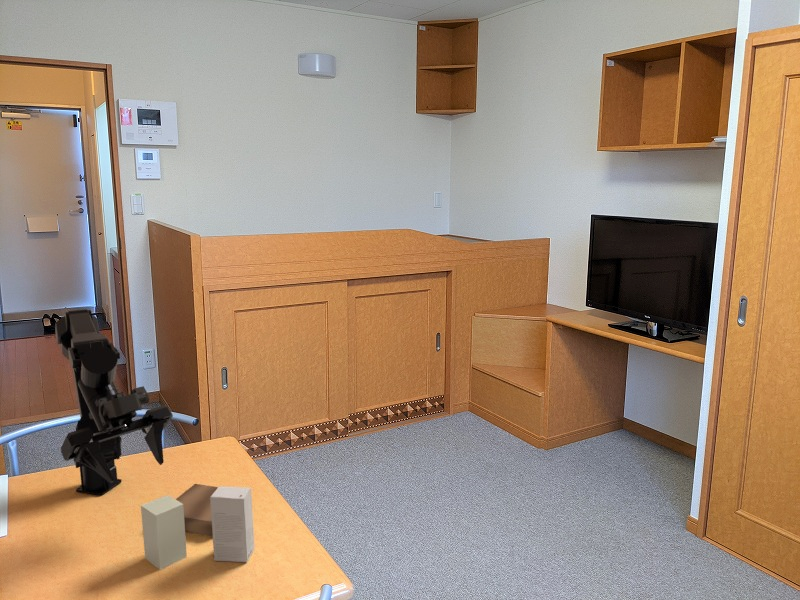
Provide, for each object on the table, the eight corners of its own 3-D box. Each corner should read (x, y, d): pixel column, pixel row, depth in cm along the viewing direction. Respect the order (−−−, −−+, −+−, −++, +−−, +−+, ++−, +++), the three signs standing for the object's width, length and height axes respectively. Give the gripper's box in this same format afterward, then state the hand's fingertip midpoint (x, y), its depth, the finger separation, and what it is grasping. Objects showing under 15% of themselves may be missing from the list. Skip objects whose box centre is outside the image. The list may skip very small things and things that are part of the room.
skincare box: (255, 549, 117) (252, 486, 114) (247, 563, 113) (244, 499, 110) (222, 547, 117) (218, 485, 115) (213, 561, 113) (209, 497, 111)
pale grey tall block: (145, 558, 114) (140, 505, 112) (171, 546, 118) (167, 494, 116) (160, 569, 111) (155, 515, 109) (186, 556, 114) (183, 504, 112)
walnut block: (159, 529, 124) (158, 512, 123) (196, 499, 135) (195, 483, 134) (216, 539, 120) (215, 522, 120) (248, 507, 132) (248, 491, 131)
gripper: (61, 388, 110) (97, 470, 105) (164, 364, 123) (200, 435, 119) (46, 421, 116) (80, 499, 111) (146, 394, 130) (179, 462, 125)
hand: (137, 472), depth 116 cm, fingers open, 9 cm apart
